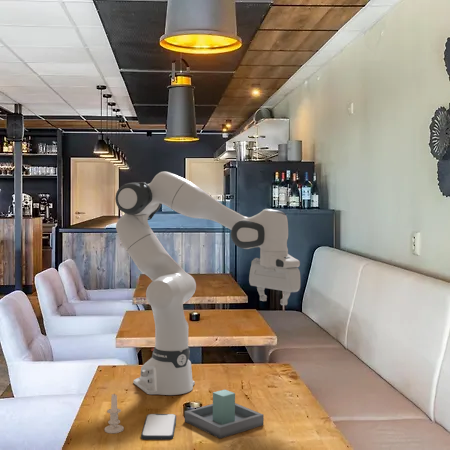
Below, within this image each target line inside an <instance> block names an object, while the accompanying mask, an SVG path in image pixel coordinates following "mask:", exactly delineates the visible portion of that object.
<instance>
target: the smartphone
mask: <svg viewBox="0 0 450 450" xmlns="http://www.w3.org/2000/svg"><path fill="white" fill-rule="evenodd" d="M176 425H177V415H176V414H174V413H148V414H147V415H146V417H145V420H144V424H143V427H142V432H141V435H140V438H141V440H144V441H145V440H146V441H147V440H149V441H150V440H151V441H152V440H154V441H155V440H156V441H157V440H161V441H163V440H167V441H169V440H173V439H174V438H173V437H174V436H175V431H176Z"/></svg>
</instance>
